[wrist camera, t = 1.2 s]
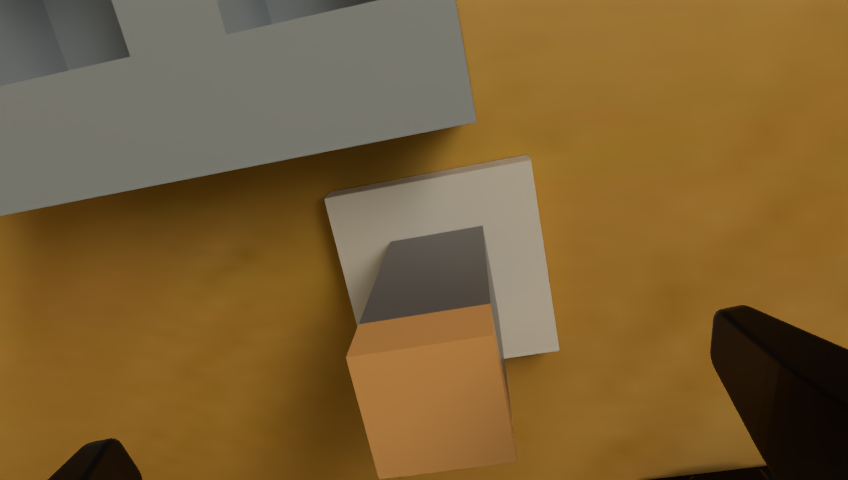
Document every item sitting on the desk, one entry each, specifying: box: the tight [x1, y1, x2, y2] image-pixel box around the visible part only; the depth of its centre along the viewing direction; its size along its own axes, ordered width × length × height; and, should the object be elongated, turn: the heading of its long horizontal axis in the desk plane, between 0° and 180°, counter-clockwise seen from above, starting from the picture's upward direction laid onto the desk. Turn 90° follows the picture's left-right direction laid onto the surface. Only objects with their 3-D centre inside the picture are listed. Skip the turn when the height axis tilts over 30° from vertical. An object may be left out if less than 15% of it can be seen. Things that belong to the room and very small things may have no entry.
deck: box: [324, 155, 559, 359], centre depth 21 cm, size 7×7×1 cm
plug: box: [346, 226, 517, 479], centre depth 17 cm, size 3×3×8 cm
